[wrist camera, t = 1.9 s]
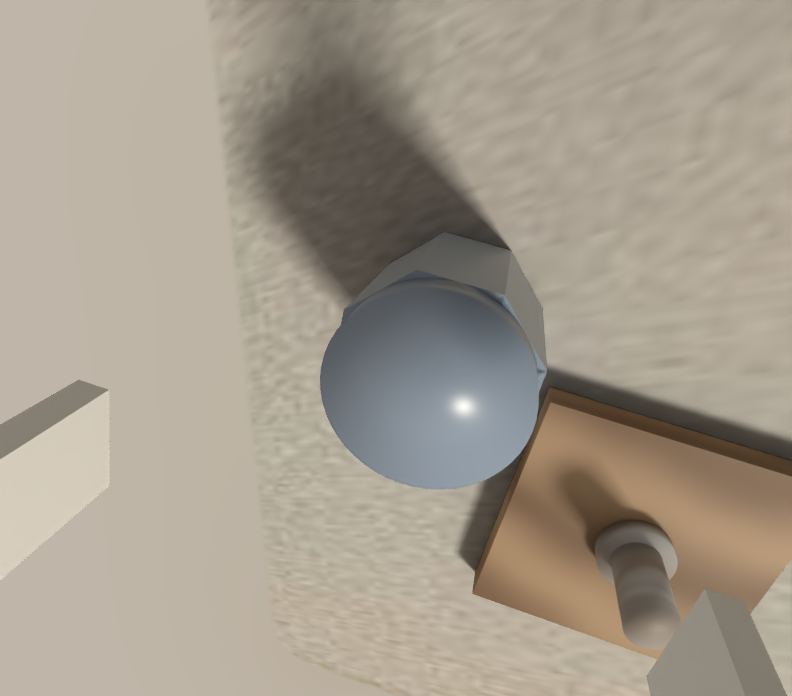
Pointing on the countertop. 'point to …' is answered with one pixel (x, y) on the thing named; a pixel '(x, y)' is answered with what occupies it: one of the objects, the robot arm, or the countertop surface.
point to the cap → (438, 365)
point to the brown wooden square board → (633, 524)
